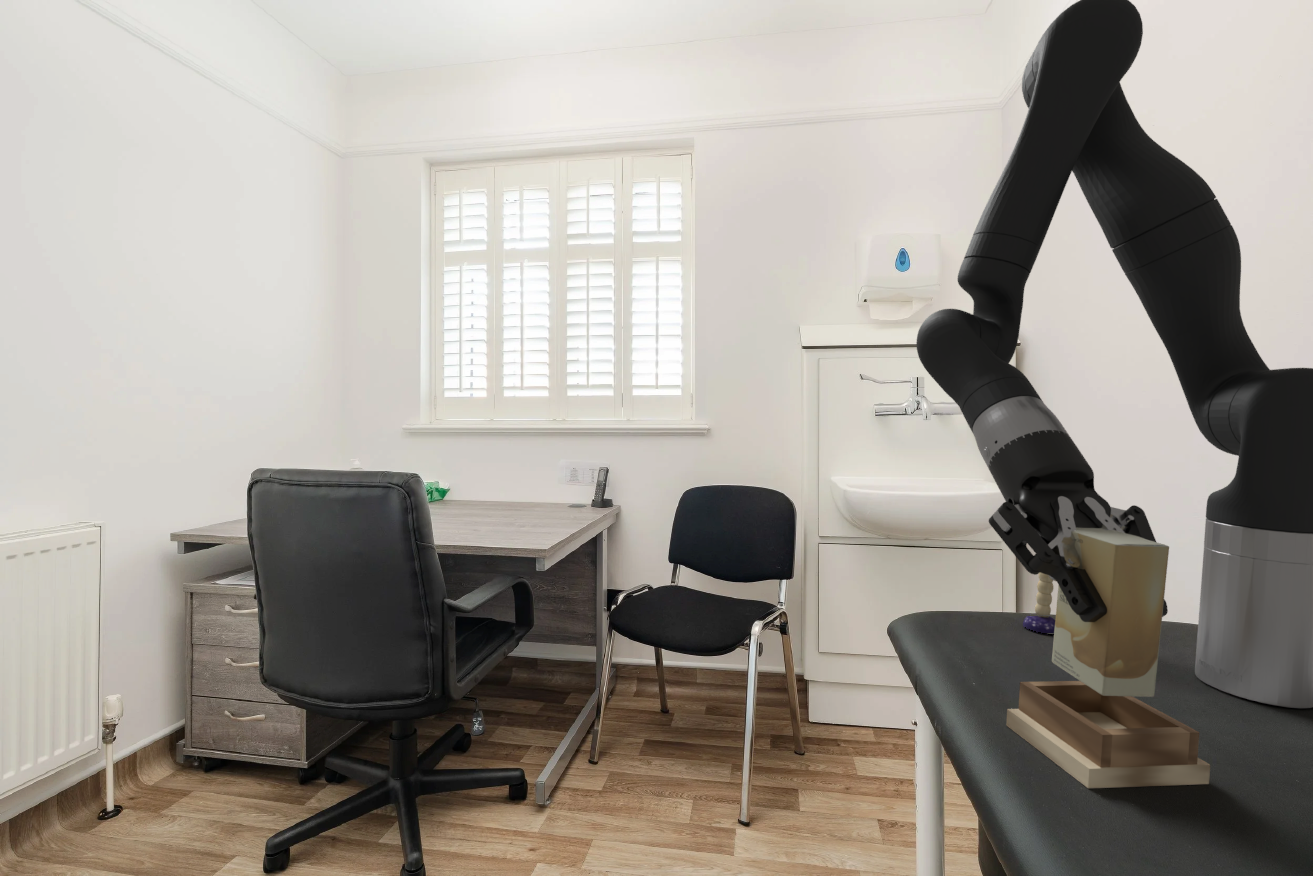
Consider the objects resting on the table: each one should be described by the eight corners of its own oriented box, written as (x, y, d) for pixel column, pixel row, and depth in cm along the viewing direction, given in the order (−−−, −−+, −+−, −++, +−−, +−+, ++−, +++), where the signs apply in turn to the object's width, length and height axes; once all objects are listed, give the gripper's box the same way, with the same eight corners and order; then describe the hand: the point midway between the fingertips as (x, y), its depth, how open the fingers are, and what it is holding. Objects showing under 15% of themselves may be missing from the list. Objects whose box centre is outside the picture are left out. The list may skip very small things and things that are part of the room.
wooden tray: (1108, 722, 55) (1111, 679, 55) (1209, 784, 46) (1212, 732, 46) (1006, 725, 54) (1008, 681, 54) (1088, 788, 45) (1091, 736, 45)
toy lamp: (1053, 624, 81) (1060, 501, 80) (1074, 637, 76) (1082, 507, 76) (1016, 622, 81) (1023, 500, 81) (1034, 635, 77) (1042, 505, 76)
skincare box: (1049, 663, 53) (1058, 525, 52) (1097, 664, 53) (1107, 527, 52) (1105, 699, 46) (1116, 542, 46) (1160, 700, 47) (1172, 543, 46)
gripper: (978, 424, 55) (1072, 595, 44) (1120, 430, 57) (1246, 596, 45) (941, 475, 61) (1016, 638, 50) (1072, 479, 62) (1173, 638, 51)
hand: (1126, 617), depth 48 cm, fingers closed on skincare box, 4 cm apart
